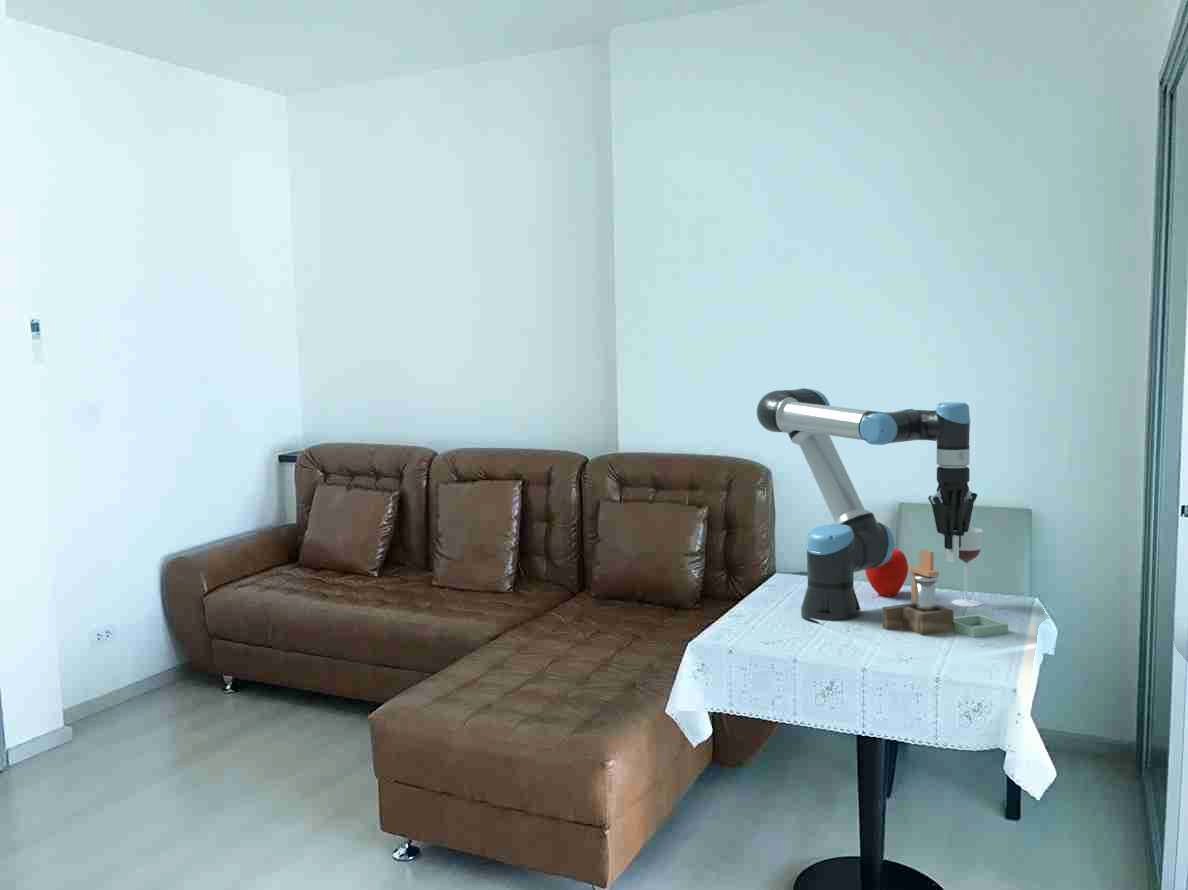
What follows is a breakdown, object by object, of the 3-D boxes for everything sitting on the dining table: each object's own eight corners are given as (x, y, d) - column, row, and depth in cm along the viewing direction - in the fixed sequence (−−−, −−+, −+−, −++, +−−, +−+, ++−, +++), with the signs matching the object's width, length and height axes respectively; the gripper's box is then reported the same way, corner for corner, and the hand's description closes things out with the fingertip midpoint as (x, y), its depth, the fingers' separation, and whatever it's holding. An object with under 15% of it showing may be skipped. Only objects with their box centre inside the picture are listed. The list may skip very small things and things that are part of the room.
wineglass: (945, 603, 264) (945, 530, 262) (958, 597, 270) (958, 526, 268) (974, 608, 258) (974, 533, 256) (987, 601, 265) (987, 529, 263)
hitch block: (882, 632, 239) (882, 607, 239) (928, 625, 244) (928, 601, 243) (906, 641, 231) (906, 616, 230) (953, 634, 235) (953, 609, 235)
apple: (889, 587, 283) (889, 542, 282) (917, 596, 273) (917, 549, 272) (856, 592, 279) (856, 546, 278) (884, 601, 268) (884, 553, 267)
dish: (945, 630, 239) (945, 618, 239) (978, 625, 242) (978, 614, 242) (973, 641, 229) (973, 629, 229) (1007, 636, 233) (1007, 624, 232)
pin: (908, 626, 240) (908, 574, 238) (927, 624, 242) (927, 572, 240) (923, 632, 234) (923, 579, 233) (942, 629, 236) (942, 577, 235)
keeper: (908, 602, 241) (908, 549, 240) (918, 601, 242) (918, 548, 241) (928, 609, 234) (928, 554, 233) (938, 608, 235) (938, 553, 234)
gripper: (941, 469, 231) (941, 567, 234) (985, 465, 236) (984, 562, 238) (920, 466, 238) (920, 561, 241) (964, 463, 243) (963, 556, 245)
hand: (952, 561), depth 239 cm, fingers closed
